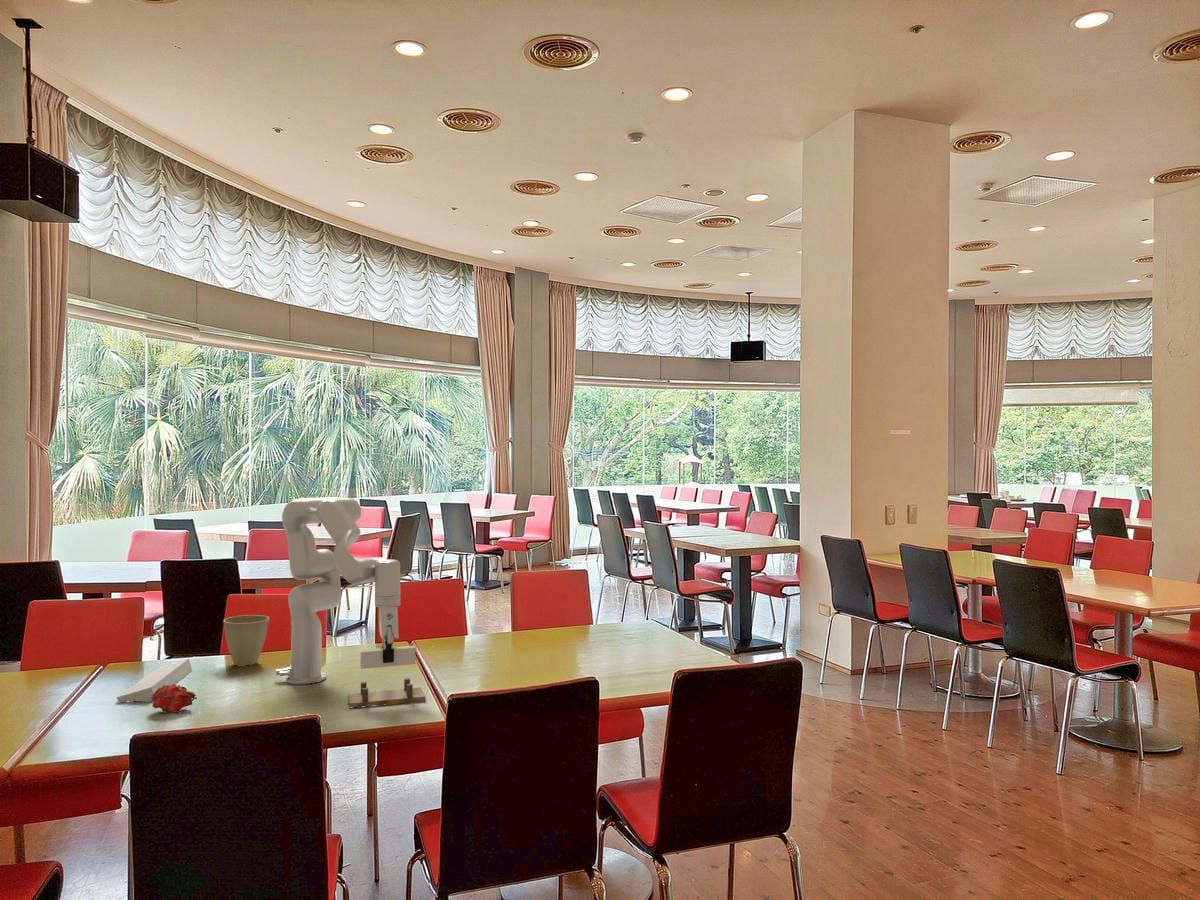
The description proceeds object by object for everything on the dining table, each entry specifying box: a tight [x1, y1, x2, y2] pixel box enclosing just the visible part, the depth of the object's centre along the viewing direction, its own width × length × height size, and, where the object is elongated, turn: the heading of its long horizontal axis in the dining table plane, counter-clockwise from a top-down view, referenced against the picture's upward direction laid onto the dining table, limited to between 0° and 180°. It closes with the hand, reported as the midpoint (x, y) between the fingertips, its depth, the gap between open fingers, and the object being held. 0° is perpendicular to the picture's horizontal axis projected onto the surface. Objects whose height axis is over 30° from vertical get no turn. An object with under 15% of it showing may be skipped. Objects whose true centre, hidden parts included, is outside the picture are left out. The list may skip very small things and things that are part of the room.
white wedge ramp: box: [116, 658, 193, 703], centre depth 257 cm, size 34×5×10 cm
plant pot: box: [223, 614, 270, 667], centre depth 284 cm, size 15×15×16 cm
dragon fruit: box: [151, 684, 198, 714], centre depth 232 cm, size 8×8×12 cm
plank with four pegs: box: [347, 677, 426, 708], centre depth 244 cm, size 22×10×5 cm, turn 110°
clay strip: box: [359, 645, 416, 670], centre depth 244 cm, size 16×3×5 cm, turn 110°
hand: (387, 660), depth 244 cm, fingers closed on clay strip, 2 cm apart
